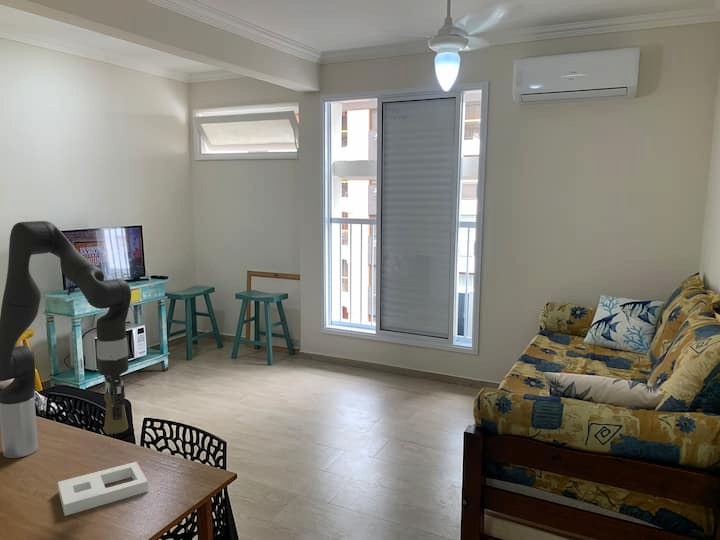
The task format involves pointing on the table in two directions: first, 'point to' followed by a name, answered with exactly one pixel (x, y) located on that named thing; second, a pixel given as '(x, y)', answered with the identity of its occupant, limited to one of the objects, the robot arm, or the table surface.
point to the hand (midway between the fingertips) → (115, 415)
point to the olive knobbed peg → (110, 424)
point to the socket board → (100, 488)
